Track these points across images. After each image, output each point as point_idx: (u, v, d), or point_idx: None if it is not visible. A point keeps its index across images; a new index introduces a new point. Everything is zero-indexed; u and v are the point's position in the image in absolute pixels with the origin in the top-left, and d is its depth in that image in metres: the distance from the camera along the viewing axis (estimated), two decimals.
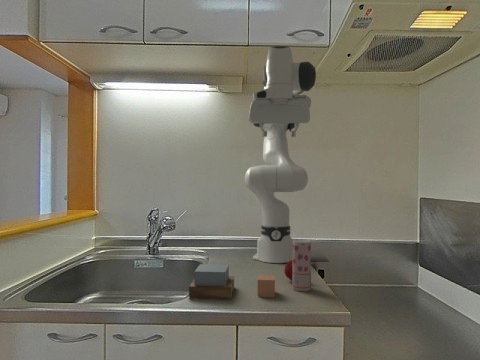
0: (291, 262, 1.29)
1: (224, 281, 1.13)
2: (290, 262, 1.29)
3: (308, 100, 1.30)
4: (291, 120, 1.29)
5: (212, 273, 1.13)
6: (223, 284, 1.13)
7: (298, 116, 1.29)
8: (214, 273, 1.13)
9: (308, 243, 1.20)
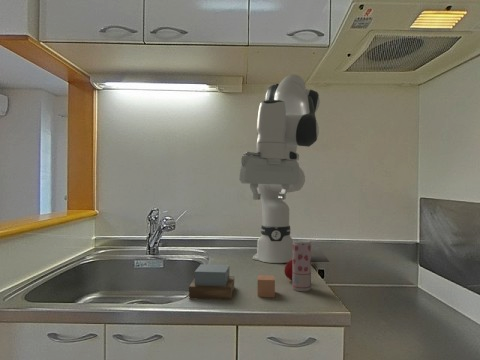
0: (291, 262, 1.29)
1: (224, 281, 1.13)
2: (290, 262, 1.29)
3: None
4: None
5: (212, 273, 1.13)
6: (223, 284, 1.13)
7: None
8: (214, 274, 1.13)
9: (308, 243, 1.20)
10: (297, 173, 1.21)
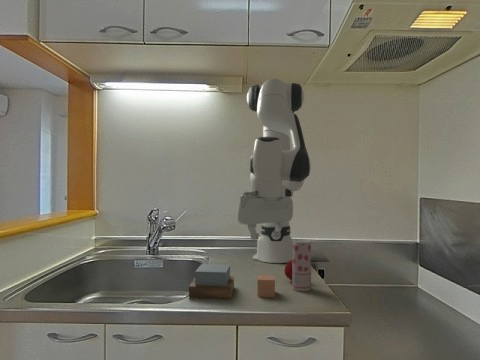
0: (291, 262, 1.29)
1: (225, 281, 1.13)
2: (290, 262, 1.29)
3: None
4: None
5: (213, 273, 1.13)
6: (224, 284, 1.13)
7: None
8: (215, 274, 1.13)
9: (308, 243, 1.20)
10: (291, 209, 1.21)
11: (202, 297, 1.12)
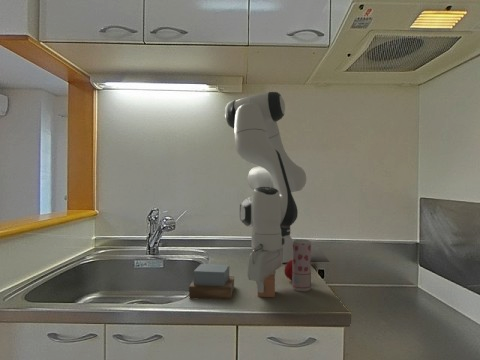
0: (291, 262, 1.29)
1: (223, 281, 1.13)
2: (290, 262, 1.29)
3: None
4: None
5: (211, 273, 1.13)
6: (222, 284, 1.13)
7: None
8: (213, 273, 1.13)
9: (308, 243, 1.20)
10: (282, 256, 1.24)
11: (202, 297, 1.12)
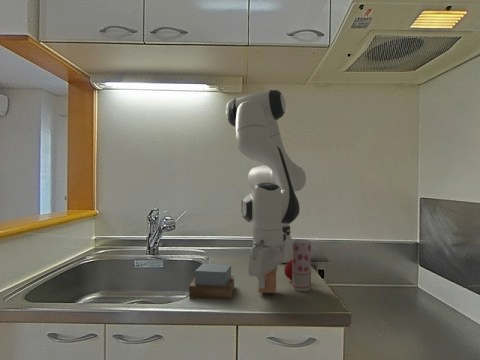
0: (291, 262, 1.29)
1: (224, 281, 1.13)
2: (290, 262, 1.29)
3: None
4: None
5: (212, 273, 1.13)
6: (223, 284, 1.13)
7: None
8: (214, 273, 1.13)
9: (308, 243, 1.20)
10: (284, 252, 1.24)
11: (202, 297, 1.12)
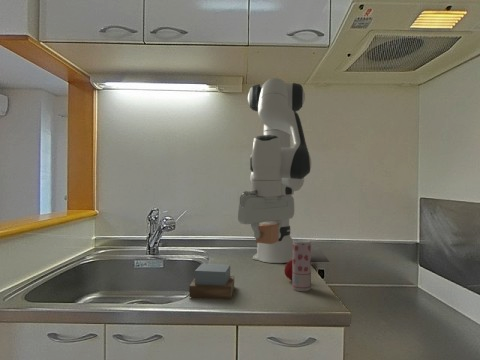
0: (291, 262, 1.29)
1: (224, 281, 1.13)
2: (290, 262, 1.29)
3: None
4: None
5: (212, 273, 1.13)
6: (223, 284, 1.13)
7: None
8: (214, 273, 1.13)
9: (308, 243, 1.20)
10: (292, 207, 1.21)
11: (202, 296, 1.12)
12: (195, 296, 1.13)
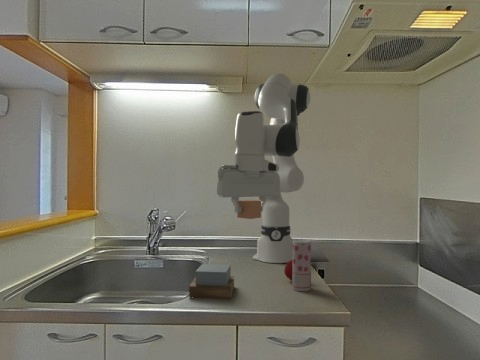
0: (291, 262, 1.29)
1: (225, 281, 1.13)
2: (290, 262, 1.29)
3: None
4: None
5: (213, 273, 1.13)
6: (224, 284, 1.13)
7: None
8: (215, 273, 1.13)
9: (308, 243, 1.20)
10: (277, 184, 1.19)
11: (202, 297, 1.13)
12: (195, 296, 1.13)
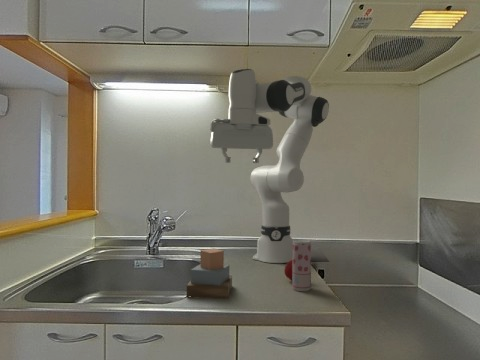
0: (291, 262, 1.29)
1: (218, 281, 1.14)
2: (290, 262, 1.29)
3: None
4: None
5: (207, 272, 1.14)
6: (217, 284, 1.14)
7: None
8: (209, 273, 1.14)
9: (308, 243, 1.20)
10: (270, 137, 1.27)
11: (200, 296, 1.13)
12: (192, 295, 1.13)
